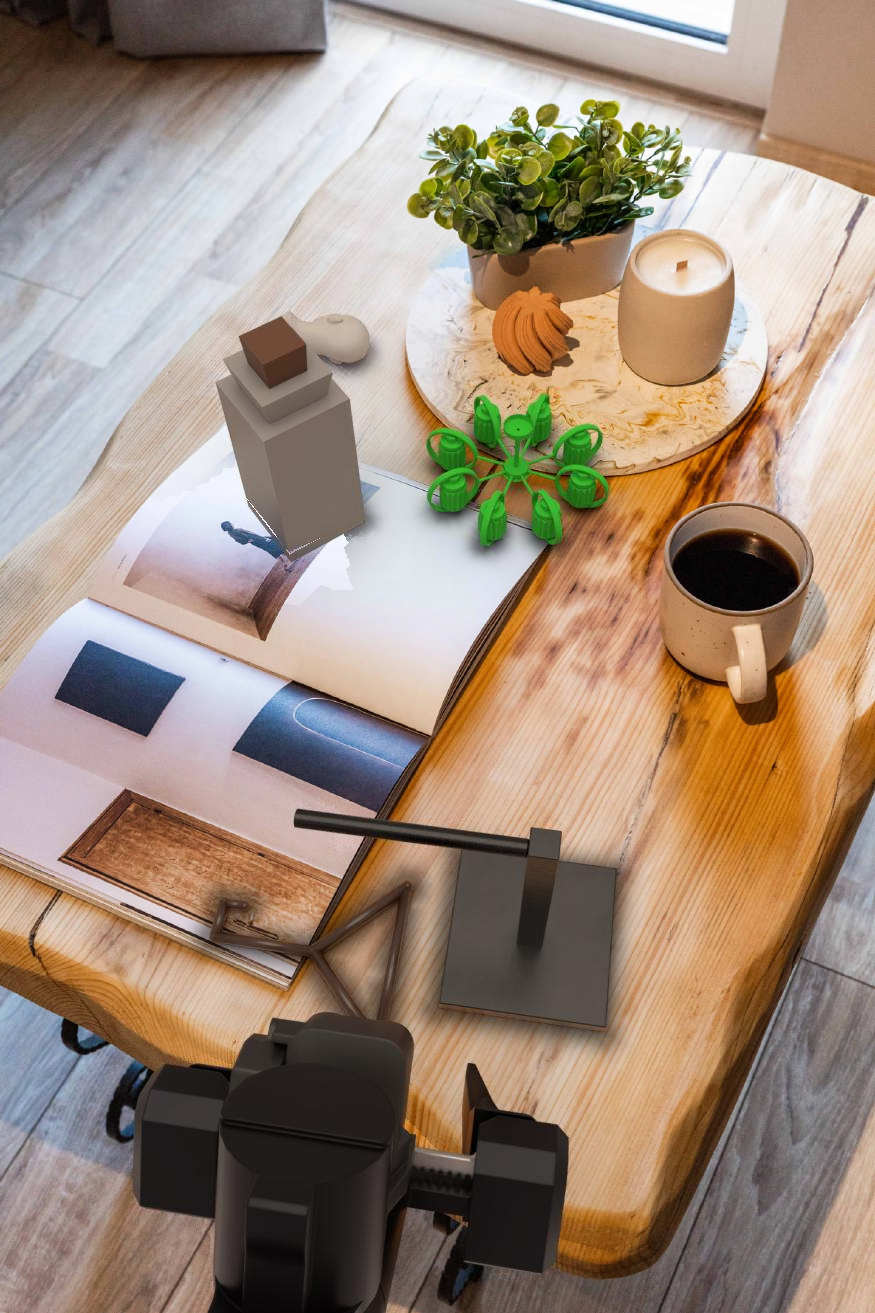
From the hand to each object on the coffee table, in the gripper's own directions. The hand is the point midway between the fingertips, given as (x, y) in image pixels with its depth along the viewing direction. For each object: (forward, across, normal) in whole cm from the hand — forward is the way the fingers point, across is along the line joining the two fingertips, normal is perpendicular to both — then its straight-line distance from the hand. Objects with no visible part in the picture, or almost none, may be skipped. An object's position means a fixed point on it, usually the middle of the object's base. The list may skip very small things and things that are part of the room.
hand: (381, 1057), depth 57 cm
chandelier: (+40, -2, -26) cm, 48 cm away
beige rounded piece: (+49, +16, -35) cm, 63 cm away
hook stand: (+14, -3, 0) cm, 15 cm away
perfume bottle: (+37, +14, -22) cm, 45 cm away
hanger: (+12, +1, +1) cm, 12 cm away
